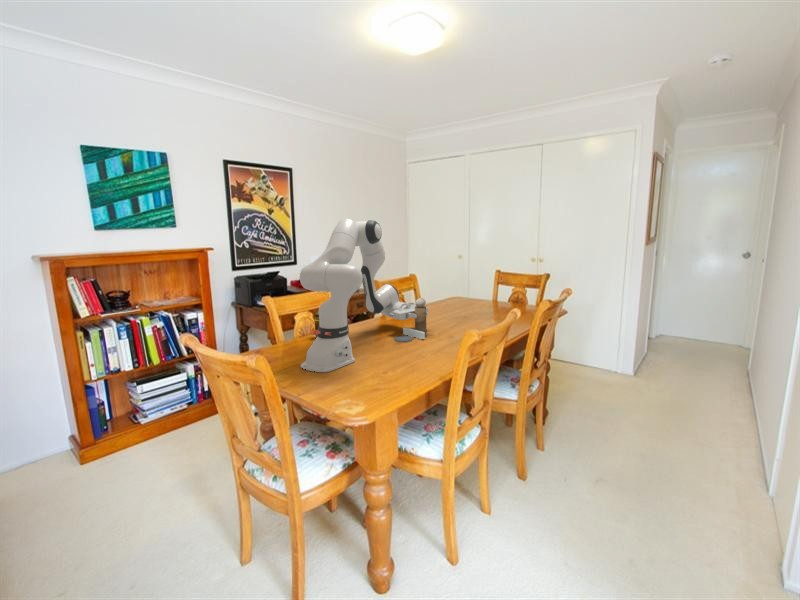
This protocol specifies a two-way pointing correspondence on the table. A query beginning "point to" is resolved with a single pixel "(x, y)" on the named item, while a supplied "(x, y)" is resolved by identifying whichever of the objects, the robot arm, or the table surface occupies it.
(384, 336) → the table surface
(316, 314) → the condiment
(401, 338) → the mat
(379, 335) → the table surface
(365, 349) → the table surface
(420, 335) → the acrylic wall
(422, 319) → the peg
